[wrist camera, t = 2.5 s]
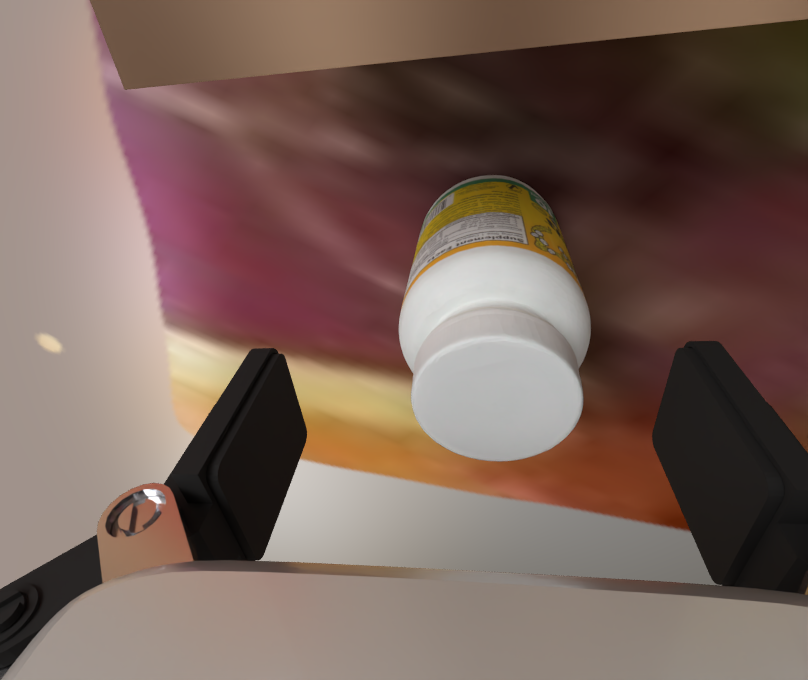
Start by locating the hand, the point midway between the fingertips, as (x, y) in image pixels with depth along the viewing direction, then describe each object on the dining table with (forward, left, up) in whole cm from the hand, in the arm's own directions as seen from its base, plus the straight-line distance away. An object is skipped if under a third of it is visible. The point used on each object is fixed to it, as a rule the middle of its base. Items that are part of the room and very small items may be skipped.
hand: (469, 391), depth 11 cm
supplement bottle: (-1, 0, -9) cm, 9 cm away
